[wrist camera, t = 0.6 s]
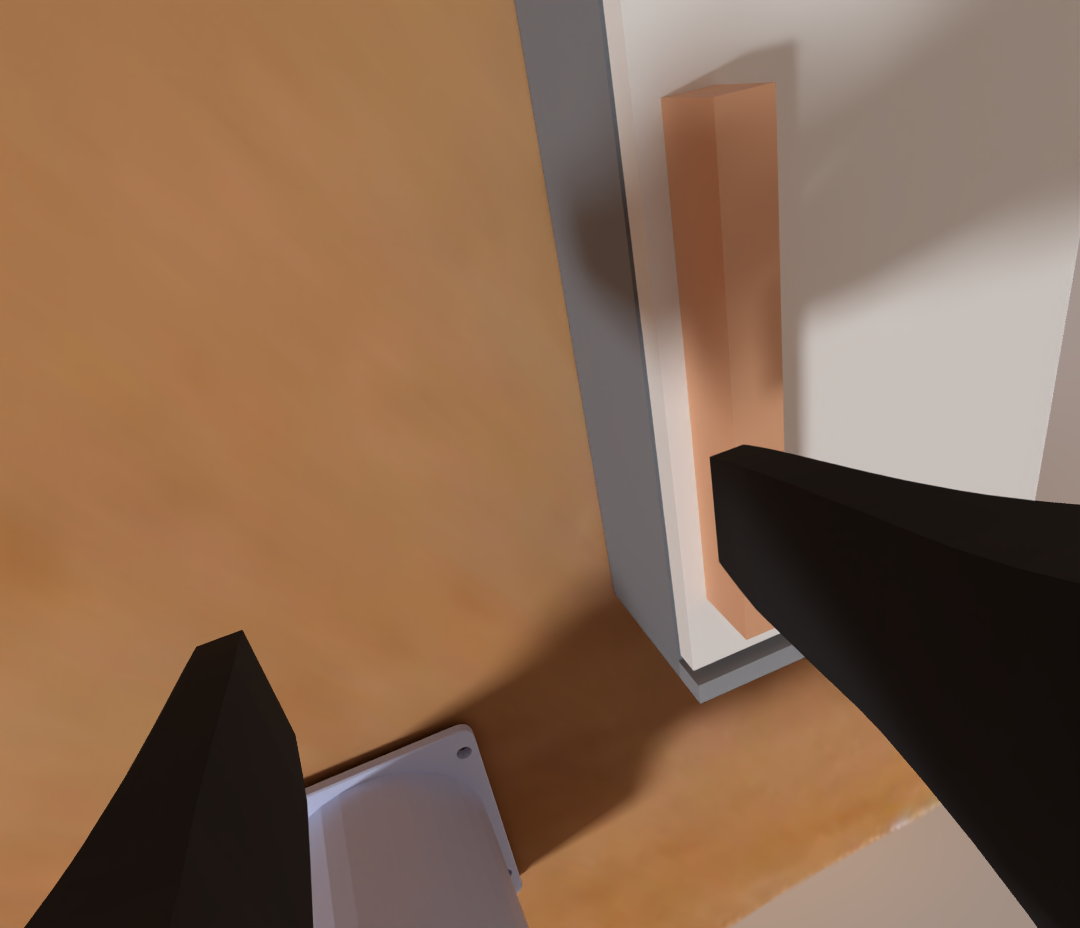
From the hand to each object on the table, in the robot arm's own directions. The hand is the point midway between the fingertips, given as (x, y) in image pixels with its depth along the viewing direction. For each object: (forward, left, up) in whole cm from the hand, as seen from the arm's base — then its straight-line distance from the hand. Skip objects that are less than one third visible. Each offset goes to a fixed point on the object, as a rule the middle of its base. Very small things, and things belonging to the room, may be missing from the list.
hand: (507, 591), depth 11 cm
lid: (0, -11, -6) cm, 13 cm away
